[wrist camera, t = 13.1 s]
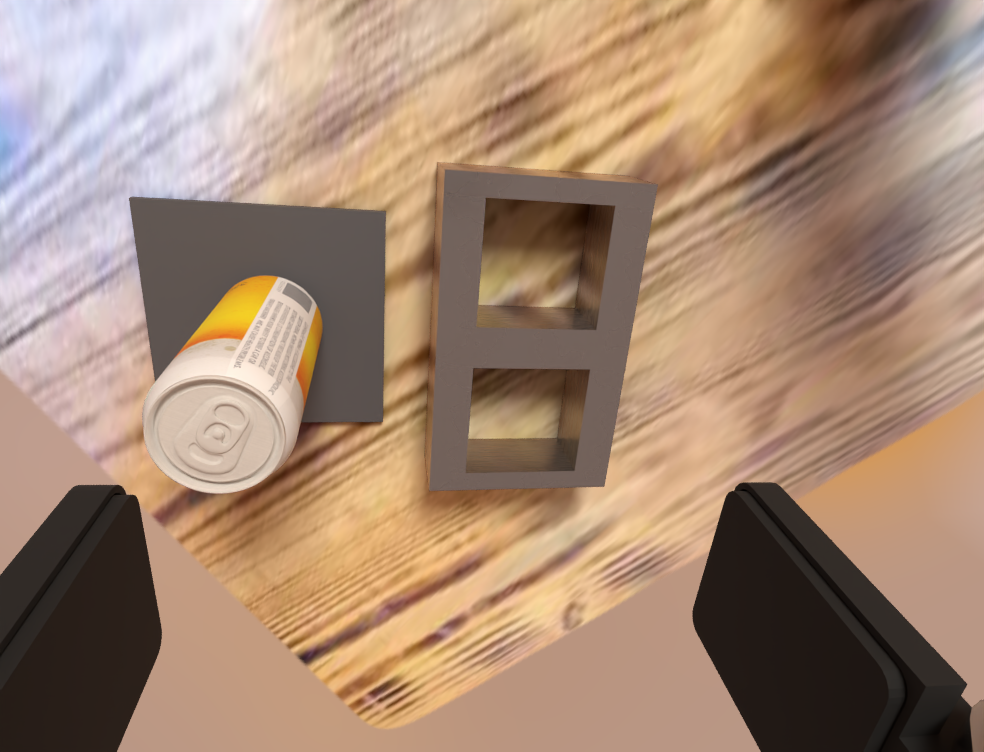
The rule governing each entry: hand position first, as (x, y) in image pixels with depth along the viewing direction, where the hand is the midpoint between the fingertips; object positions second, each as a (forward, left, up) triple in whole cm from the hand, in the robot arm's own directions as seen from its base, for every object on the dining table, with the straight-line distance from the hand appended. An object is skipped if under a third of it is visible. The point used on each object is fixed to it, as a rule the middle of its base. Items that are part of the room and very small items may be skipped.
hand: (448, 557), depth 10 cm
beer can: (+6, -8, -30) cm, 32 cm away
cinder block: (+6, +8, -31) cm, 32 cm away
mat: (+6, -8, -31) cm, 32 cm away
